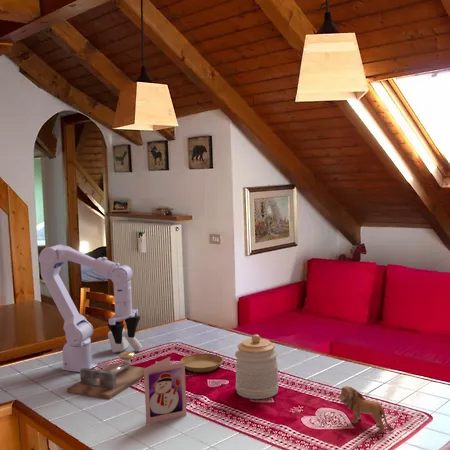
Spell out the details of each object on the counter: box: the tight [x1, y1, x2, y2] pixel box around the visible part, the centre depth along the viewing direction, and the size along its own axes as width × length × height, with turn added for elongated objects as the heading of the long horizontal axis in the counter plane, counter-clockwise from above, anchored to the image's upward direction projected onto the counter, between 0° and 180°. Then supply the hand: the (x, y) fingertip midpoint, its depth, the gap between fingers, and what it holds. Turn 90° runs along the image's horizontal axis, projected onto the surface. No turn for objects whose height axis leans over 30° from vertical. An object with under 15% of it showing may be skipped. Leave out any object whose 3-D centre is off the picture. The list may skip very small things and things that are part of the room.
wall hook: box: [107, 327, 143, 354], centre depth 213 cm, size 8×10×10 cm
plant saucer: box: [179, 352, 224, 373], centre depth 194 cm, size 15×15×3 cm
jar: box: [234, 334, 279, 400], centre depth 169 cm, size 13×13×18 cm
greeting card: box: [143, 356, 187, 424], centre depth 154 cm, size 11×7×15 cm, turn 114°
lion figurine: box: [338, 385, 395, 434], centre depth 146 cm, size 15×5×9 cm, turn 51°
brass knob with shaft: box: [110, 350, 136, 374], centre depth 186 cm, size 5×13×5 cm, turn 155°
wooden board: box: [66, 363, 146, 400], centre depth 181 cm, size 16×24×6 cm, turn 155°
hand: (125, 340), depth 192 cm, fingers open, 7 cm apart
